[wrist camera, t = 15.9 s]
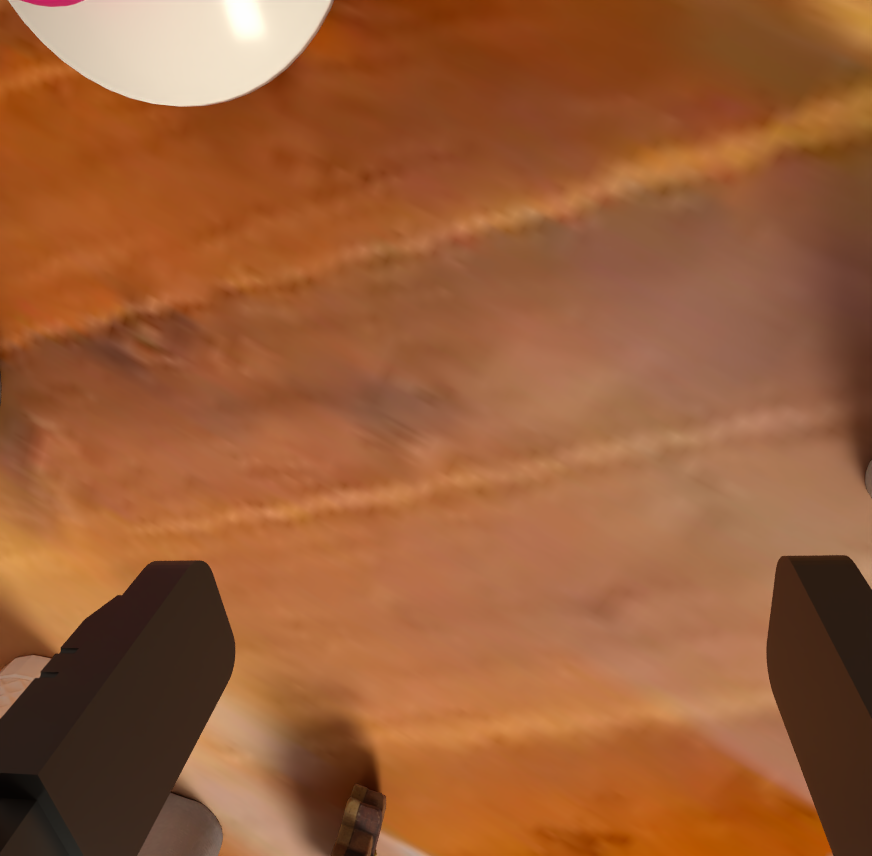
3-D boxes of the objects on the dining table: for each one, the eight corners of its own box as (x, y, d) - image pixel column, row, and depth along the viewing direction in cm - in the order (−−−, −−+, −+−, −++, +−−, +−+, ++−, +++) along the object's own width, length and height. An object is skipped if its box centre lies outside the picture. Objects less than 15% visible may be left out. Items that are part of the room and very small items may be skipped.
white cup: (-17, 646, 52) (-125, 756, 43) (81, 648, 51) (-7, 760, 42) (11, 723, 55) (-84, 840, 46) (105, 726, 54) (27, 846, 45)
